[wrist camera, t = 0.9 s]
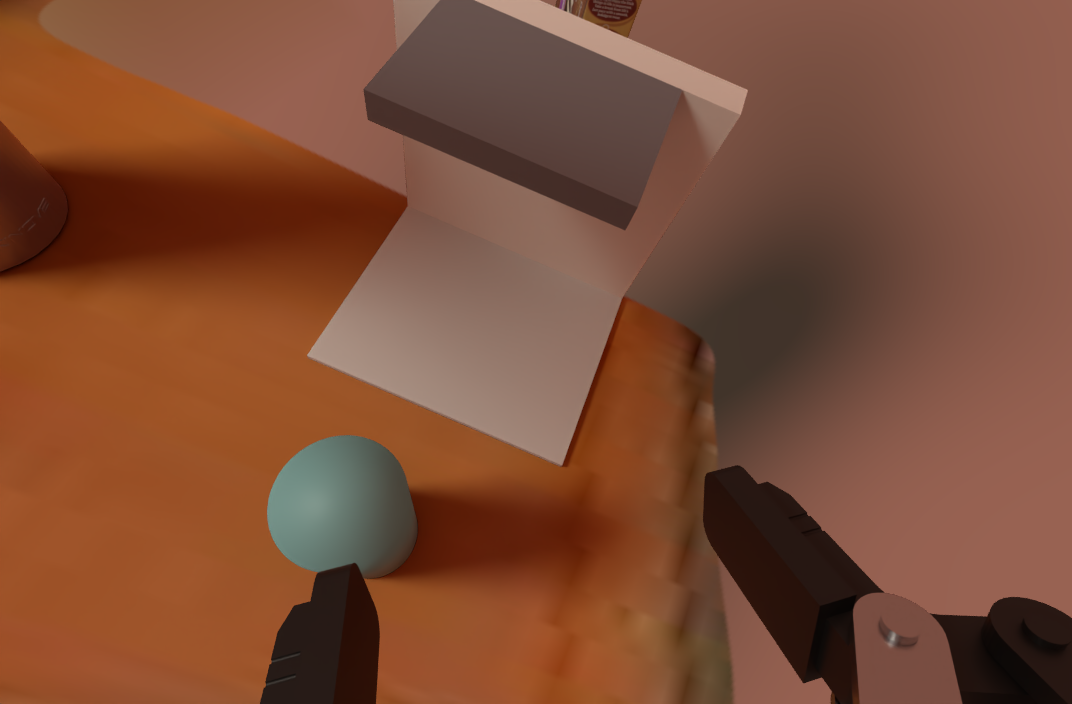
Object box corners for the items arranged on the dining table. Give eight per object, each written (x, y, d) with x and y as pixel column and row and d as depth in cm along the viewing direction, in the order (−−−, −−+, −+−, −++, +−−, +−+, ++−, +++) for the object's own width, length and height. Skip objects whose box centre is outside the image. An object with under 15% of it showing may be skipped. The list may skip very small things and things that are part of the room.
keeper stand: (308, 358, 33) (197, 156, 18) (419, 192, 41) (410, -56, 25) (560, 466, 33) (671, 360, 18) (627, 281, 41) (747, 89, 25)
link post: (311, 557, 29) (237, 539, 18) (356, 475, 31) (315, 415, 20) (392, 593, 29) (367, 595, 18) (432, 507, 31) (430, 465, 20)
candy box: (594, 143, 46) (660, -42, 33) (547, 139, 46) (596, -53, 32) (583, 75, 50) (638, -117, 36) (540, 70, 49) (580, -128, 36)
